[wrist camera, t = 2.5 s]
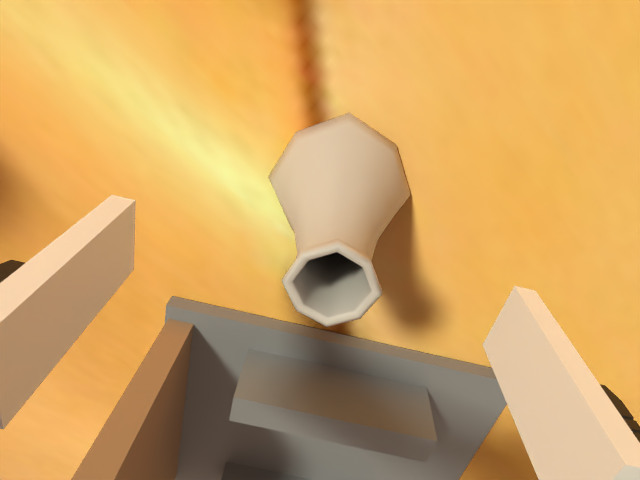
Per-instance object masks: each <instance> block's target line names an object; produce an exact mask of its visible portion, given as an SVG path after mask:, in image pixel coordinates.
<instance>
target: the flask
mask: <svg viewBox="0 0 640 480" xmlns="http://www.w3.org/2000/svg"><path fill="white" fill-rule="evenodd" d="M268 177H269V179H270V181H271V184H272V186H273V188H274V190H275V193H276V195H277V197H278V199H279V202H280V204H281V206H282V208H283V211H284V213H285V215H286V217H287V220H288V222H289V224H290V226H291V228H292V230H293V231H294V233H295V239H296V246H297V257H296V260H295V261H294V263H293V264H292V266H291V267H290V268H289V270H288V271H287V273H286V274H285V275H284V277H283V278H282V283H283V285H284V287H285V289H286V291H287V293H288V295H289V297H290V299H291V301H292V303H293V305H294V307H295V309H296V311H298V312H300V313H302V314H303V315H305V316H307V317H309V318H311V319H312V320H314V321H316V322H318V323H320V324H322V325H323V326H325V327H329V326H333V325H337V324H341V323H345V322H349V321H353V320H357V319H360V318H361V317H362V316H363V315H364V314H365V313H366V312H367V311H368V309H369V308H370V307H371V306H372V305H373V304H374V303H375V302H376V300H377V299H378V298H379V297H380V296H381V295H382V289H381V286H380V283H379V281H378V278H377V275H376V272H375V270H374V267H373V264H372V262H371V261H372V257H373V254H374V250H375V247H376V244H377V240H378V239H379V237H380V236H381V235H382V233H383V232H384V230H385V229H386V227H387V226H388V224H389V223H390V221H391V220H392V218H393V217H394V216H395V214H396V213H397V212H398V210H399V209H400V208H401V207H402V205H403V204H404V203H405V202H406V200H407V199H408V197H409V196H410V195H411V193H410V190H409V187H408V183H407V180H406V177H405V173H404V170H403V166H402V163H401V160H400V156H399V153H398V149H397V146H396V144H395V143H393V142H392V141H390V140H389V139H387V138H386V137H384V136H383V135H381V134H380V133H379V132H377V131H376V130H374V129H373V128H371V127H370V126H368V125H367V124H365V123H364V122H362V121H361V120H359V119H358V118H357V117H355V116H354V115H352V114H351V113H347V114H344V115H341V116H339V117H336V118H333V119H330V120H328V121H325V122H322V123H319V124H317V125H314V126H311V127H308V128H306V129H303V130H300V131H297V132H296V133H295V134H294V136H293V137H292V139H291V141H290V142H289V144H288V146H287V147H286V149H285V150H284V152H283V154H282V155H281V157H280V159H279V160H278V162H277V163H276V165H275V167H274V168H273V170H272V172H271V173H270V175H269V176H268Z"/></svg>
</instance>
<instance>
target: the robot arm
mask: <svg viewBox="0 0 640 480" xmlns="http://www.w3.org/2000/svg"><path fill="white" fill-rule="evenodd" d="M134 241H135V200H133V199H128V198H124V197H120V196H115V195H111V196H110V197H109V198H107V199H106V200H105V201H103V202H102V203H101V204H100V205H98V206H97V207H96V208H95V209H93V210H92V211H91V212H90V213H88V214H87V215H86V216H85V217H83V218H82V219H81V220H79V221H78V222H77V223H76V224H74V225H73V226H72V227H71V228H69V229H68V230H67V231H66V232H64V233H63V234H62V235H60V236H59V237H58V238H57V239H55V240H54V241H53V242H52V243H50V244H49V245H48V246H47V247H45V248H44V249H43V250H42V251H40V252H39V253H38V254H36V255H35V256H34V257H33V258H31V259H30V260H29V261H28V262H26V263H24V262H19V261H15V260H10V261H7V262H5V263H2V264H0V429H4V428H5V427H6V426H7V424H8V423H9V422H10V421H11V420H12V418H13V417H14V416H15V415H16V413H17V412H18V411H19V410H20V409H21V407H22V406H23V405H24V404H25V402H26V401H27V400H28V399H29V397H30V396H31V395H32V394H33V393H34V391H35V390H36V389H37V388H38V386H39V385H40V384H41V383H42V381H43V380H44V379H45V378H46V377H47V375H48V374H49V373H50V372H51V370H52V369H53V368H54V367H55V366H56V364H57V363H58V362H59V361H60V359H61V358H62V357H63V356H64V354H65V353H66V352H67V351H68V350H69V348H70V347H71V346H72V345H73V343H74V342H75V341H76V340H77V339H78V337H79V336H80V335H81V334H82V332H83V331H84V330H85V329H86V327H87V326H88V325H89V324H90V323H91V321H92V320H93V319H94V318H95V316H96V315H97V314H98V313H99V312H100V310H101V309H102V308H103V307H104V305H105V304H106V303H107V302H108V300H109V299H110V298H111V297H112V296H113V294H114V293H115V292H116V291H117V289H118V288H119V287H120V286H121V285H122V283H123V282H124V281H125V280H126V278H127V277H128V276H129V275H130V273H131V272H132V271H133V270H134ZM483 347H484V349H485V352H486V354H487V357H488V359H489V362H490V364H491V366H492V369H493V371H494V374H495V376H496V378H497V381H498V383H499V386H500V388H501V390H502V393H503V395H504V398H505V400H506V402H507V405H508V407H509V410H510V412H511V414H512V417H513V419H514V422H515V424H516V426H517V429H518V431H519V434H520V436H521V439H522V441H523V443H524V446H525V448H526V451H527V453H528V455H529V458H530V460H531V463H532V465H533V467H534V470H535V472H536V475H537V477H538V479H539V480H640V426H639V425H638V423H637V422H636V421H634V420H633V416H632V415H631V413H630V412H629V411H628V409H627V408H626V406H625V405H624V404H623V402H622V401H621V400H620V399H619V398H618V397H617V396H616V395H615V394H613V393H612V392H611V391H610V390H609V389H608V388H607V387H606V386H605V385H600V384H599V383H598V381H597V380H596V378H595V377H594V375H593V374H592V373H591V371H590V370H589V368H588V367H587V365H586V364H585V362H584V361H583V359H582V358H581V356H580V355H579V354H578V352H577V351H576V349H575V348H574V346H573V345H572V343H571V342H570V340H569V339H568V338H567V336H566V335H565V333H564V332H563V330H562V329H561V327H560V326H559V324H558V323H557V321H556V320H555V319H554V317H553V316H552V314H551V313H550V311H549V310H548V308H547V307H546V305H545V304H544V302H543V301H542V300H541V298H540V297H539V295H538V294H537V292H536V291H535V290H530V289H526V288H521V287H517V286H514V288H513V290H512V292H511V293H510V295H509V297H508V299H507V301H506V303H505V304H504V306H503V308H502V310H501V312H500V314H499V315H498V317H497V319H496V321H495V323H494V325H493V326H492V328H491V330H490V332H489V334H488V336H487V338H486V339H485V341H484V343H483Z"/></svg>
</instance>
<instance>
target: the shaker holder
mask: <svg viewBox="0 0 640 480" xmlns="http://www.w3.org/2000/svg"><path fill="white" fill-rule="evenodd" d="M506 404H507V402H506V400H505V398H504V395H503V393H502V390H501V388H500V386H499V383H498V381H497V378H496V376H495V374H494V371H493V369H492V368H490V367H486V366H481V365H477V364H472V363H468V362H463V361H459V360H454V359H450V358H446V357H441V356H437V355H432V354H428V353H423V352H419V351H415V350H410V349H406V348H401V347H397V346H392V345H388V344H383V343H379V342H375V341H370V340H366V339H361V338H357V337H352V336H348V335H343V334H339V333H335V332H330V331H326V330H321V329H317V328H312V327H308V326H303V325H299V324H295V323H290V322H286V321H281V320H277V319H272V318H268V317H264V316H259V315H255V314H250V313H246V312H241V311H237V310H232V309H228V308H224V307H219V306H215V305H210V304H206V303H201V302H197V301H192V300H188V299H184V298H179V297H175V296H172V297H171V299H170V300H169V302H168V303H167V305H166V316H165V325H164V327H163V328H162V330H161V332H160V333H159V335H158V337H157V338H156V340H155V342H154V343H153V345H152V347H151V348H150V350H149V352H148V353H147V355H146V357H145V358H144V360H143V362H142V363H141V365H140V367H139V368H138V370H137V372H136V373H135V375H134V377H133V378H132V380H131V382H130V383H129V385H128V387H127V388H126V390H125V391H124V393H123V395H122V396H121V398H120V400H119V401H118V403H117V405H116V406H115V408H114V410H113V411H112V413H111V415H110V416H109V418H108V420H107V421H106V423H105V425H104V426H103V428H102V430H101V431H100V433H99V435H98V436H97V438H96V440H95V441H94V443H93V445H92V446H91V448H90V450H89V451H88V453H87V455H86V456H85V458H84V460H83V461H82V463H81V464H80V466H79V468H78V469H77V471H76V473H75V474H74V476H73V478H72V479H71V480H459V478H460V477H461V475H462V474H463V472H464V470H465V469H466V467H467V466H468V464H469V463H470V461H471V459H472V458H473V456H474V455H475V453H476V452H477V450H478V448H479V447H480V445H481V444H482V442H483V441H484V439H485V437H486V436H487V434H488V433H489V431H490V430H491V428H492V426H493V425H494V423H495V422H496V420H497V419H498V417H499V415H500V414H501V412H502V411H503V409H504V408H505V406H506Z"/></svg>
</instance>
